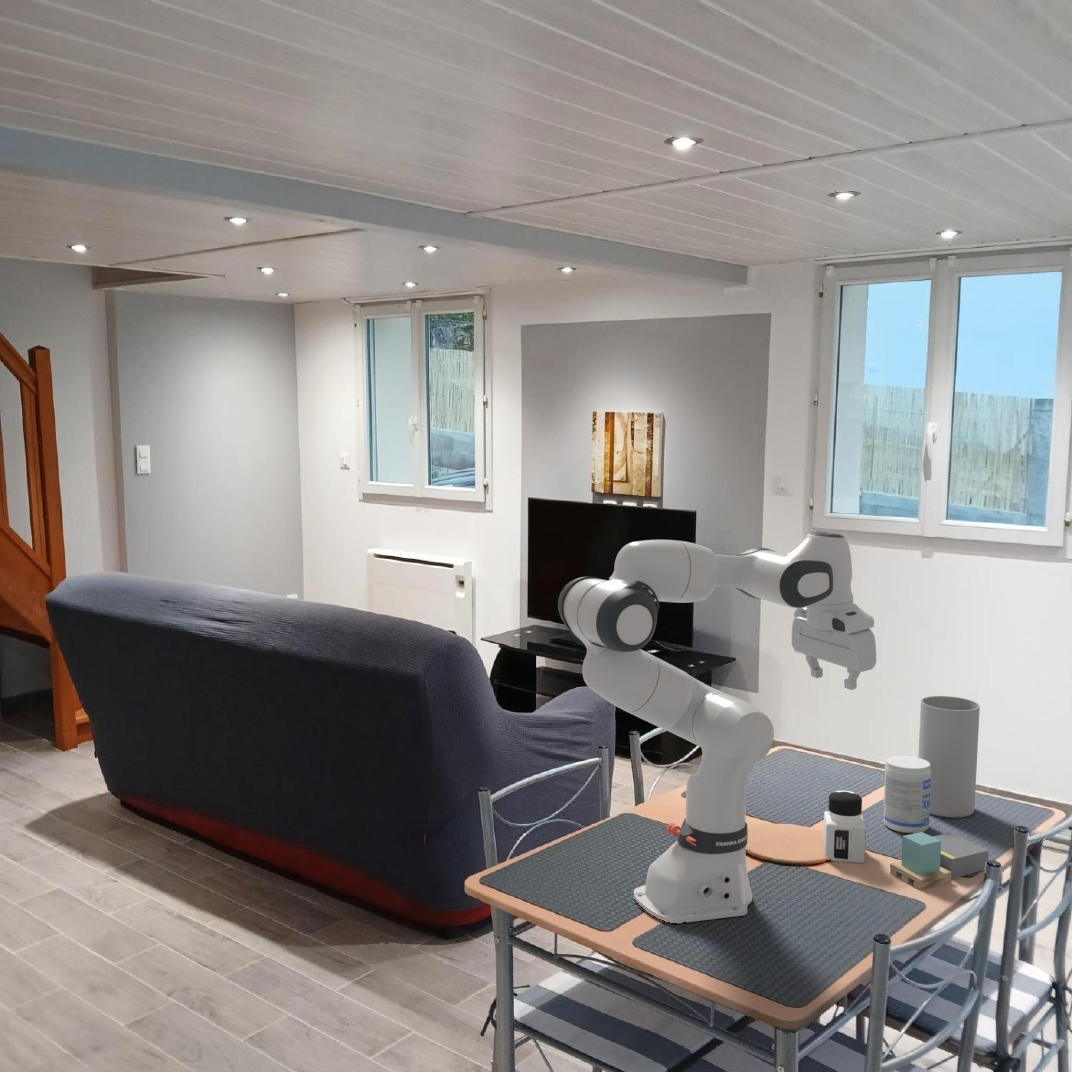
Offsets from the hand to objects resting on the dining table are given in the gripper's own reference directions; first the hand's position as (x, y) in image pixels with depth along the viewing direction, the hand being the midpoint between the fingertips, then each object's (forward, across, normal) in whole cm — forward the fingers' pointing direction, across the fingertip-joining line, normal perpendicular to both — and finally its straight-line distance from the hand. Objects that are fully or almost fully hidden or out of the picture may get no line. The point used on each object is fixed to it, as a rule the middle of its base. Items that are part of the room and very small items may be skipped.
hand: (833, 682), depth 206 cm
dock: (+41, +9, +20) cm, 46 cm away
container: (+39, -4, +4) cm, 40 cm away
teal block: (+38, +11, +10) cm, 40 cm away
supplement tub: (+42, -10, +27) cm, 51 cm away
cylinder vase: (+44, -14, +43) cm, 63 cm away
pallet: (+40, +11, +10) cm, 42 cm away
